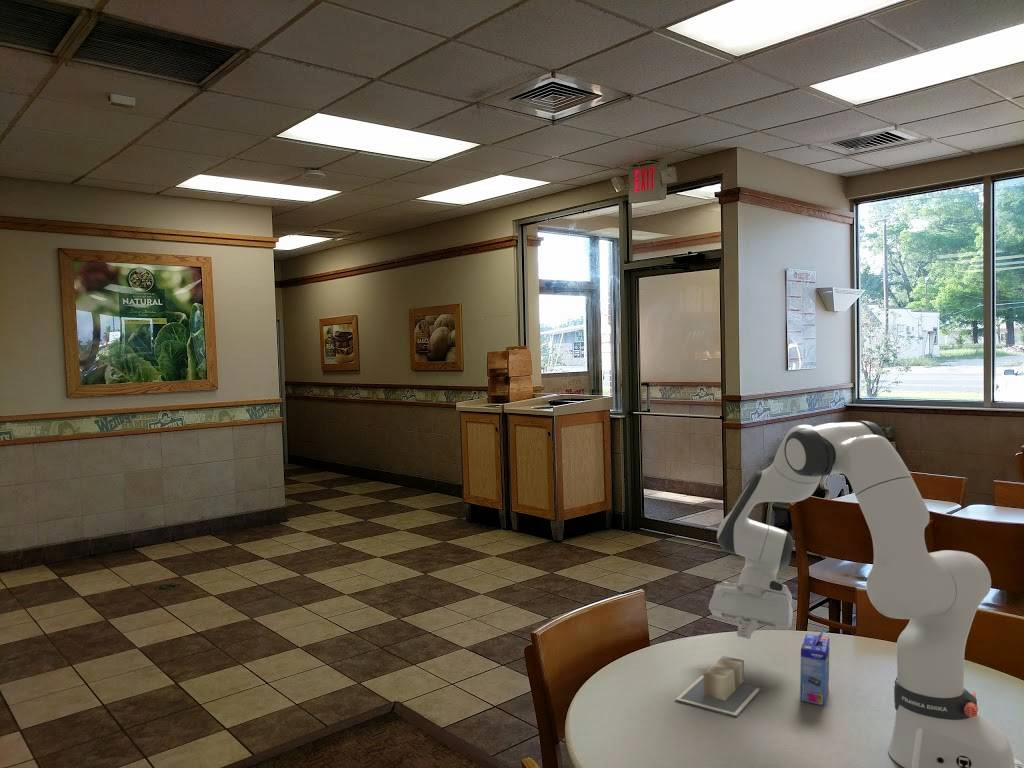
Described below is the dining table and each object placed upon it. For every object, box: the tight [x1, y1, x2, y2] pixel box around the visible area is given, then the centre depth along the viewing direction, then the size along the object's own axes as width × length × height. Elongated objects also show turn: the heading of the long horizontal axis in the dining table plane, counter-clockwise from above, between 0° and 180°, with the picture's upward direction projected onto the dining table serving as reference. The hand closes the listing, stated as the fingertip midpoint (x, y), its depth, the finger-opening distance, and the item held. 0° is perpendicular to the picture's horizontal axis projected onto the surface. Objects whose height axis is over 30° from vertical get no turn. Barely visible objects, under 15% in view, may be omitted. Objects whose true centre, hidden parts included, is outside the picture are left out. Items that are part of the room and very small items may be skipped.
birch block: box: [703, 655, 745, 701], centre depth 173 cm, size 5×5×12 cm
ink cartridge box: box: [799, 630, 830, 706], centre depth 169 cm, size 10×6×14 cm, turn 152°
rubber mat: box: [674, 673, 762, 718], centre depth 170 cm, size 14×16×1 cm
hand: (743, 636), depth 185 cm, fingers closed
